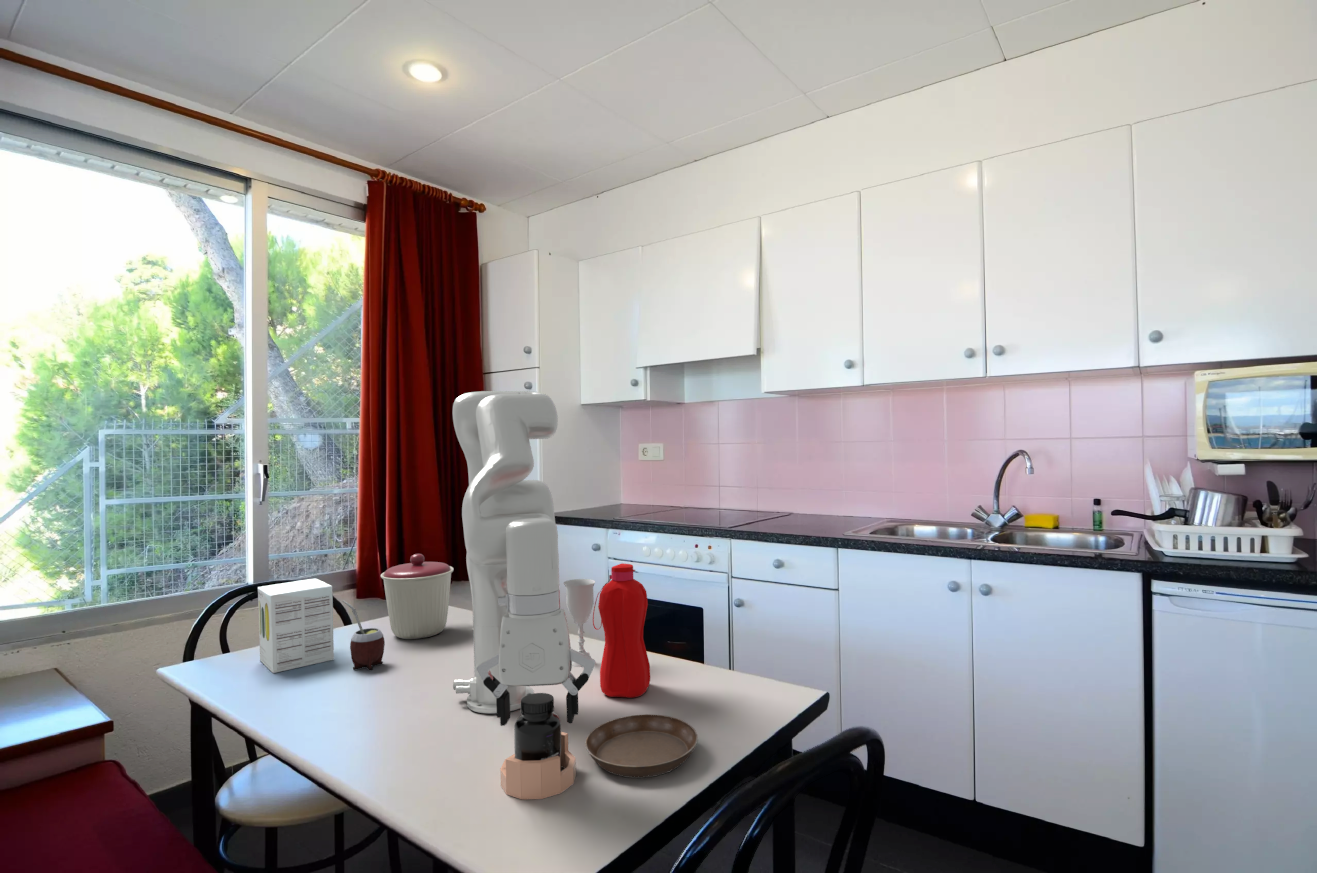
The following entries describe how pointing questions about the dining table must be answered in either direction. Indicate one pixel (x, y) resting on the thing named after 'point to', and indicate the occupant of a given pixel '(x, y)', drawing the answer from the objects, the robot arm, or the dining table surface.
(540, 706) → the supplement bottle
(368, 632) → the mate gourd
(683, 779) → the dining table surface
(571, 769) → the holder cup
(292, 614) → the supplement box
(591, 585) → the chalice
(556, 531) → the robot arm
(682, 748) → the plant saucer
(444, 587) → the canister
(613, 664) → the water bottle
